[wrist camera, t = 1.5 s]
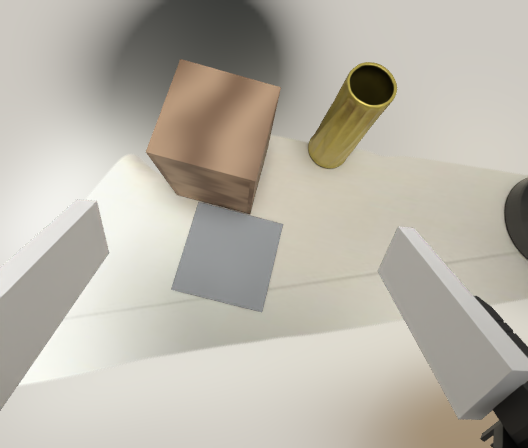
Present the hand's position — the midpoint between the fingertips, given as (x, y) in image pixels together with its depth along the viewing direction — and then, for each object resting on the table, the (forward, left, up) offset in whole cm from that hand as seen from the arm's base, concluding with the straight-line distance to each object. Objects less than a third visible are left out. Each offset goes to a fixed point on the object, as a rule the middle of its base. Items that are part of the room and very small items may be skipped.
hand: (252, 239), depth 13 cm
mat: (+2, -1, -25) cm, 25 cm away
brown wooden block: (+6, -12, -25) cm, 29 cm away
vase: (-8, -20, -25) cm, 33 cm away
